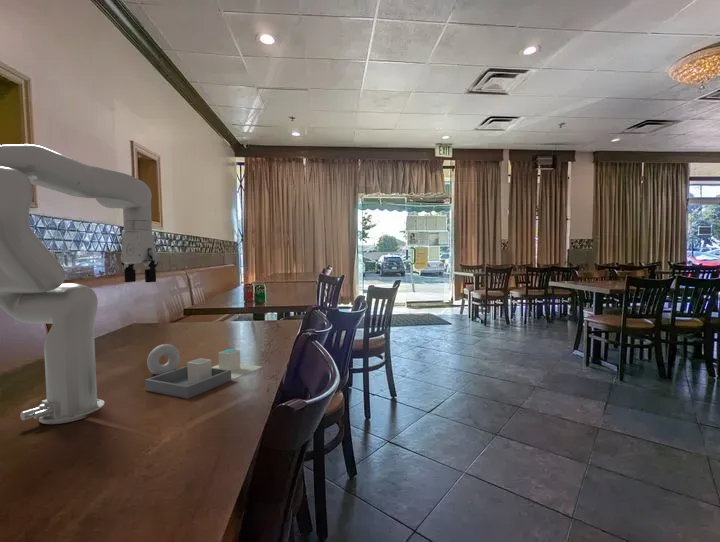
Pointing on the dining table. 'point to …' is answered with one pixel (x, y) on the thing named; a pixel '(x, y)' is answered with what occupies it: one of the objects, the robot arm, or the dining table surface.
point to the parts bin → (185, 383)
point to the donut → (155, 356)
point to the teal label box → (229, 360)
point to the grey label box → (199, 370)
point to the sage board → (241, 370)
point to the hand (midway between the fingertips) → (140, 282)
